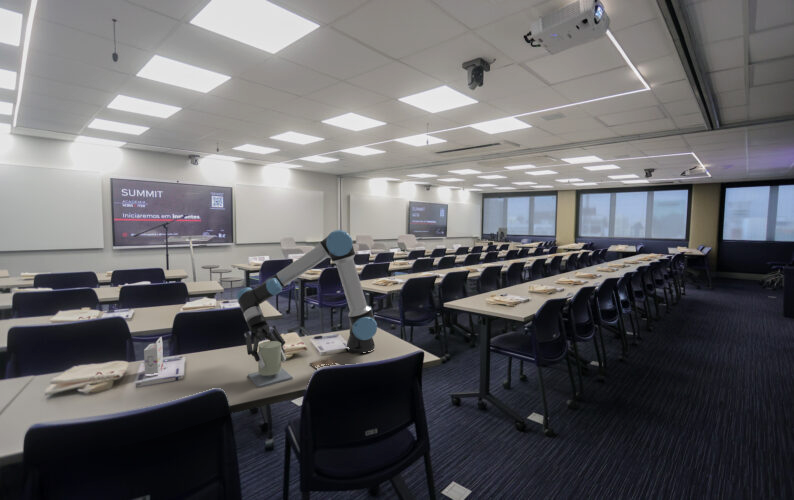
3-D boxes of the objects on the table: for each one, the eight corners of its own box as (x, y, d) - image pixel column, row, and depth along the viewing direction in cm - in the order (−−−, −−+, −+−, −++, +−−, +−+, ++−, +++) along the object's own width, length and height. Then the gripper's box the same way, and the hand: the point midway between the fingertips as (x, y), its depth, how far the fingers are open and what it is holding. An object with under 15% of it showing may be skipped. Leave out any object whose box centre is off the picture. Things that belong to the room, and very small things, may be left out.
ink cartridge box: (150, 369, 151) (149, 336, 151) (163, 368, 153) (162, 335, 152) (143, 377, 144) (143, 342, 143) (158, 376, 145) (157, 341, 145)
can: (253, 372, 144) (253, 344, 143) (270, 365, 152) (270, 338, 151) (269, 377, 140) (269, 348, 139) (286, 369, 148) (286, 342, 147)
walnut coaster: (330, 359, 168) (330, 358, 168) (342, 366, 159) (342, 365, 159) (309, 364, 161) (309, 363, 161) (320, 372, 153) (320, 370, 152)
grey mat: (280, 368, 156) (280, 366, 156) (292, 378, 145) (292, 377, 145) (247, 376, 147) (247, 374, 147) (258, 387, 136) (258, 385, 136)
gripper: (274, 319, 163) (293, 361, 154) (227, 328, 147) (245, 376, 137) (280, 310, 159) (300, 352, 150) (233, 318, 143) (251, 366, 134)
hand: (273, 363), depth 144 cm, fingers closed on can, 9 cm apart
